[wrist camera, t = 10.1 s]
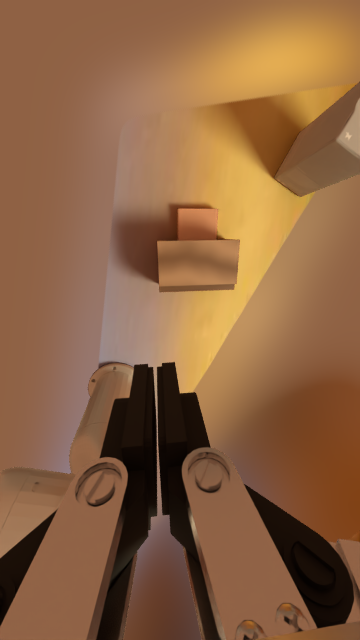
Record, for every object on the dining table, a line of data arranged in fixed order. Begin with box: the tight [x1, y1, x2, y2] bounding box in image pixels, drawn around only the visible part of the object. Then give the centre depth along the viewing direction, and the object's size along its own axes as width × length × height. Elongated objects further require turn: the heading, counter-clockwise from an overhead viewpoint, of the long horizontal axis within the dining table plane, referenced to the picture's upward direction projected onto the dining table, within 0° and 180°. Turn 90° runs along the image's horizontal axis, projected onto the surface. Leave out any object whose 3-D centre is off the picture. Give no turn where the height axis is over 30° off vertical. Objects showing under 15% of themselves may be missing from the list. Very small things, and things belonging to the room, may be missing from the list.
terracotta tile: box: [177, 209, 218, 241], centre depth 43 cm, size 12×7×2 cm, turn 0°
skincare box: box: [274, 82, 360, 197], centre depth 33 cm, size 8×7×16 cm
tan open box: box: [157, 239, 240, 292], centre depth 40 cm, size 8×13×8 cm, turn 91°
